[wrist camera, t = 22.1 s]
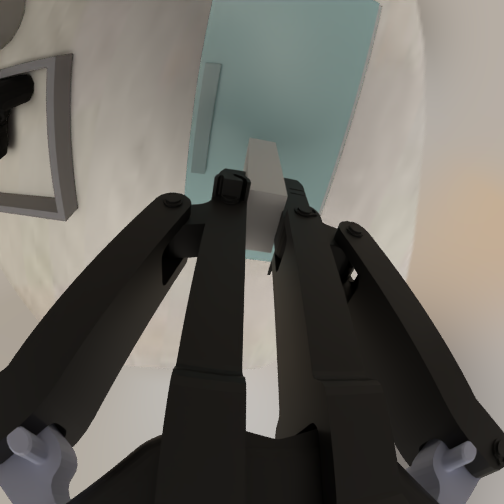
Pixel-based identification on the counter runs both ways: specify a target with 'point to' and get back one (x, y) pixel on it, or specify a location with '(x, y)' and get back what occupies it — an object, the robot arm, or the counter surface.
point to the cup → (10, 19)
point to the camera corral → (50, 144)
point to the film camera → (12, 102)
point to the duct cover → (277, 89)
